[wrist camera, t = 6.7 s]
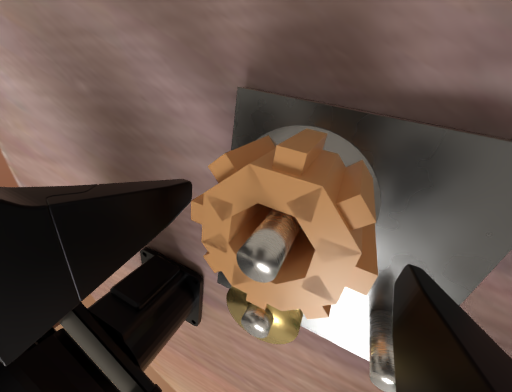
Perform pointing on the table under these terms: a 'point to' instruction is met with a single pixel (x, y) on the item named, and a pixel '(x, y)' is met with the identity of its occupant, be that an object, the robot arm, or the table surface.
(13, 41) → the table surface
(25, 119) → the table surface
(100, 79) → the table surface
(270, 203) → the gear
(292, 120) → the carrier
